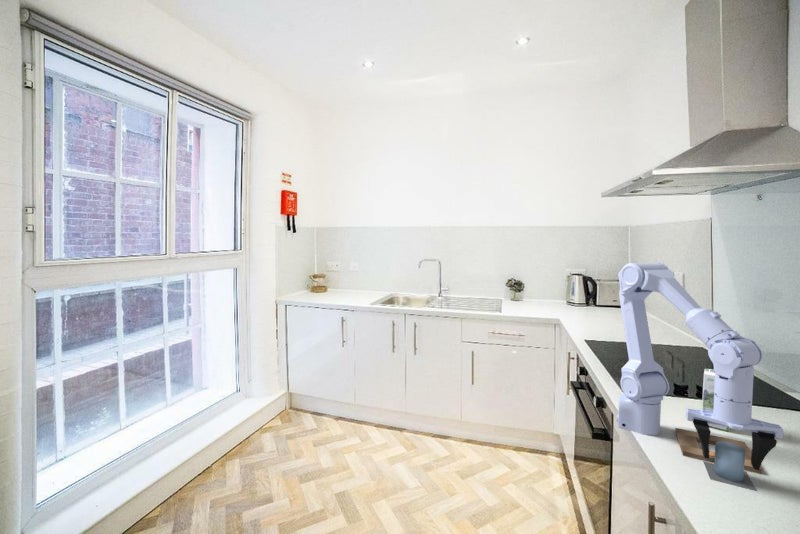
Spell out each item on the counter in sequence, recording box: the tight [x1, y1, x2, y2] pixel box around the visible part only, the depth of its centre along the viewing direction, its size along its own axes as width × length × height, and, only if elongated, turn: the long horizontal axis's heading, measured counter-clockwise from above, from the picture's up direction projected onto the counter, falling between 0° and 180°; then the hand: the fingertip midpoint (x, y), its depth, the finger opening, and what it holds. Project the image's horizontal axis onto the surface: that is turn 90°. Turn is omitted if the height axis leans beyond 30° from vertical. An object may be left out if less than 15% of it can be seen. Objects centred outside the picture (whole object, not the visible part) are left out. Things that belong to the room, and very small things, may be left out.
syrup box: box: [701, 368, 731, 433], centre depth 96 cm, size 6×6×14 cm
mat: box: [702, 460, 758, 492], centre depth 74 cm, size 7×7×1 cm
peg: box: [713, 441, 745, 482], centre depth 74 cm, size 4×4×6 cm
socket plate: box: [674, 427, 763, 475], centre depth 83 cm, size 13×12×2 cm
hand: (729, 461), depth 74 cm, fingers open, 7 cm apart
